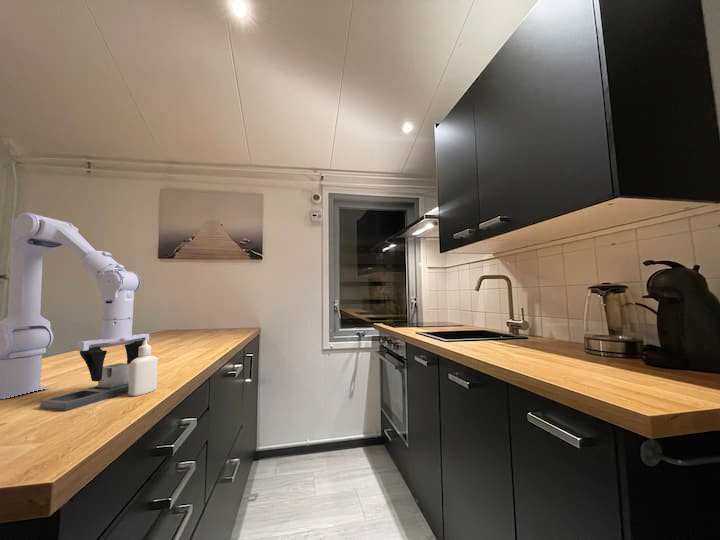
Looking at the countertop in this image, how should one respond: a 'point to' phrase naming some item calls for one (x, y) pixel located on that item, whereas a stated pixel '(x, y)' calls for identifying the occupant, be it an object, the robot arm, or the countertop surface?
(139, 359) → the eye dropper bottle
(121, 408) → the countertop surface
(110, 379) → the block
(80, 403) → the grey flat frame
